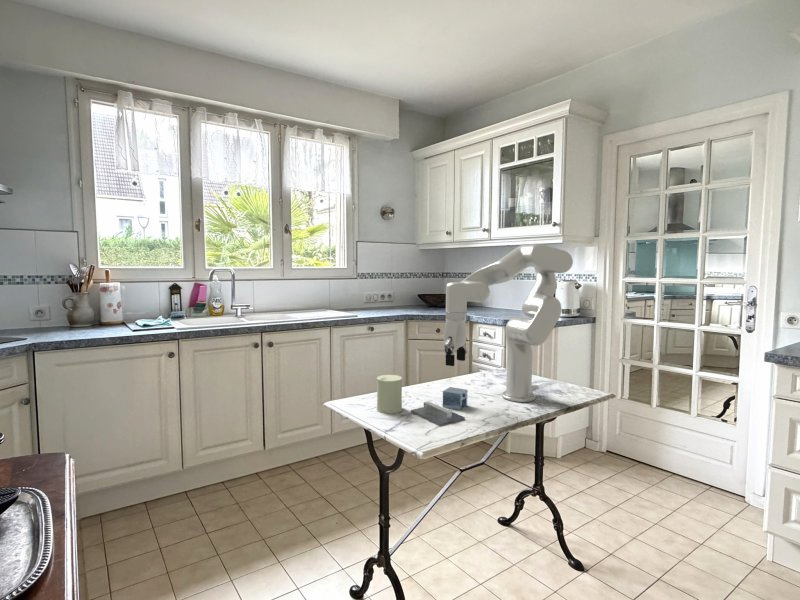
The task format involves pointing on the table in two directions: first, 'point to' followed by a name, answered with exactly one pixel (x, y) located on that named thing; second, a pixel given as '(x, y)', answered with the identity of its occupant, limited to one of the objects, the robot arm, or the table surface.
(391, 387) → the can
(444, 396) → the blue-grey slotted block
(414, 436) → the table surface
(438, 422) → the rail
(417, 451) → the table surface
